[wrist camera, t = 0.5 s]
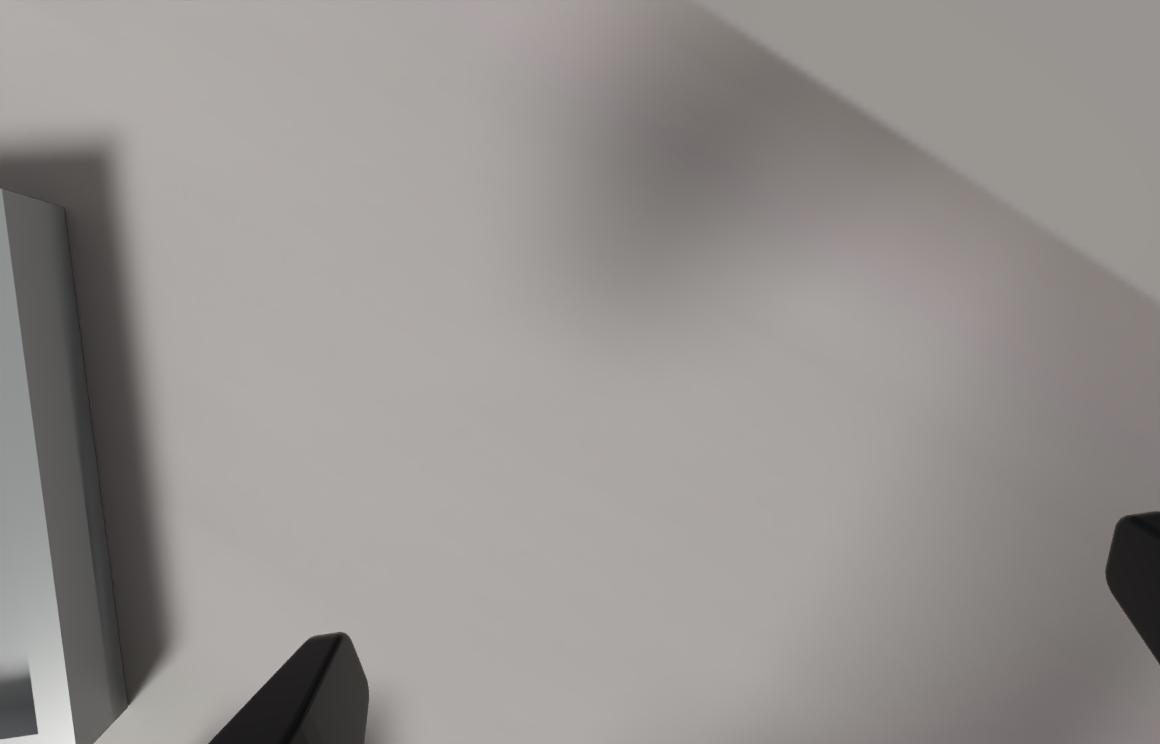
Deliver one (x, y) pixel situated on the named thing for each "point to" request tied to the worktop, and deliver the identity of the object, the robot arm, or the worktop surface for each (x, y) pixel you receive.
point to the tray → (49, 500)
